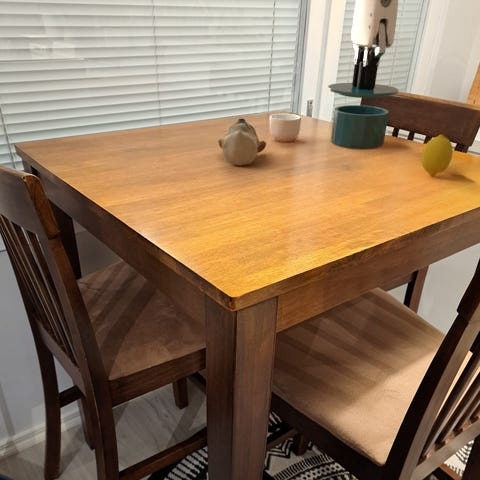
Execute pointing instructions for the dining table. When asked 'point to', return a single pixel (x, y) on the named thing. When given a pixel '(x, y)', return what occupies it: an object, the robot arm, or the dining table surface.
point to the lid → (352, 91)
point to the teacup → (284, 126)
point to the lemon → (437, 155)
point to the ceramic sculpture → (241, 143)
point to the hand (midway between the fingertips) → (363, 86)
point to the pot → (359, 126)
